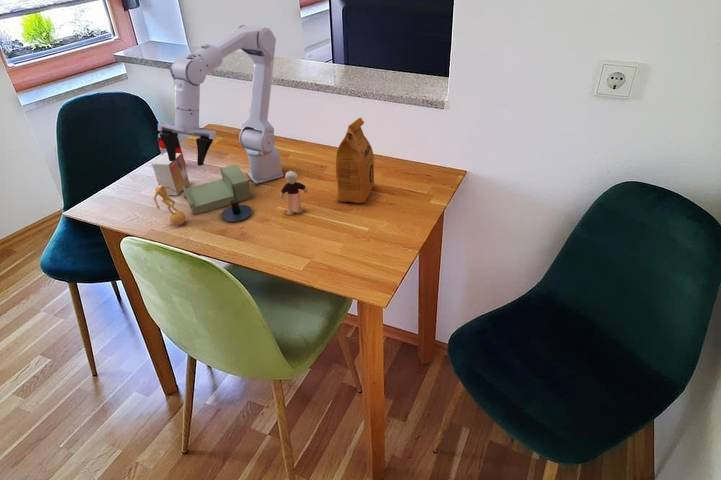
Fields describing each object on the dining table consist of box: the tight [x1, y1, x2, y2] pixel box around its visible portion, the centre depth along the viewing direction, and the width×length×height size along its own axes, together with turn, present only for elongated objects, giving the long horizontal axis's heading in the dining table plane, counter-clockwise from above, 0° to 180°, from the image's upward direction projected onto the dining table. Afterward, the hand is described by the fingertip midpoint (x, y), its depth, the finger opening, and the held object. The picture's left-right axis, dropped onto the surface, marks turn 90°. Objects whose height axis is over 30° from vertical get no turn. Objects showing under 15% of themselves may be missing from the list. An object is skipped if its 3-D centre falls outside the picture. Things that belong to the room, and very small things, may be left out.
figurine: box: [153, 185, 186, 226], centre depth 129 cm, size 8×6×12 cm
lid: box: [221, 199, 253, 224], centre depth 134 cm, size 8×8×4 cm
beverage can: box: [157, 131, 186, 165], centre depth 157 cm, size 6×6×12 cm
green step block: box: [182, 163, 253, 215], centre depth 142 cm, size 17×12×6 cm
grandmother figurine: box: [279, 170, 308, 216], centre depth 132 cm, size 8×4×13 cm, turn 117°
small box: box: [151, 152, 190, 196], centre depth 145 cm, size 8×6×10 cm
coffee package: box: [335, 117, 375, 204], centre depth 135 cm, size 10×12×22 cm
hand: (186, 162), depth 125 cm, fingers open, 7 cm apart
